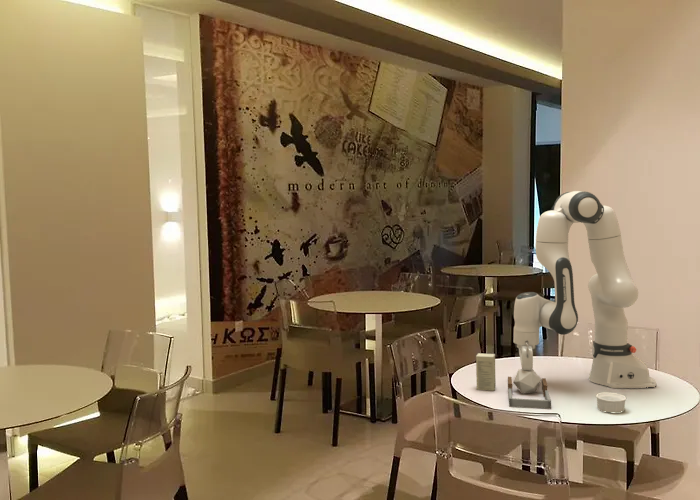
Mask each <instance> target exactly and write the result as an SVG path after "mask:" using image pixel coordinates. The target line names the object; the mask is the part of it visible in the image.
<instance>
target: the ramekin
mask: <svg viewBox="0 0 700 500" xmlns="http://www.w3.org/2000/svg"><path fill="white" fill-rule="evenodd" d="M595 398H596V403H597V404H596V405H597V409H598V410H599V409H600V410H599V411H601V410H602V411H601V412H603V411H606V412H605V413H607V412H621V411H623V412H624V411H625V405H626V401H627V397H626V396H625V395H624V394H621V393H616V392H599V393H597V394H596V396H595ZM621 413H622V412H621Z"/></svg>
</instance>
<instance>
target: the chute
mask: <svg viewBox="0 0 700 500" xmlns="http://www.w3.org/2000/svg"><path fill="white" fill-rule="evenodd" d="M548 387H549V385H548V382H547V379H546V378H545V377H544V378H543V377H541V390H542V391H541V392H542V395H543V397H544V398H545V390H548V389H549V388H548ZM508 388H510V389H511V390H512V391H513V379H512V376H507V389H508ZM548 391H549V390H548Z"/></svg>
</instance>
